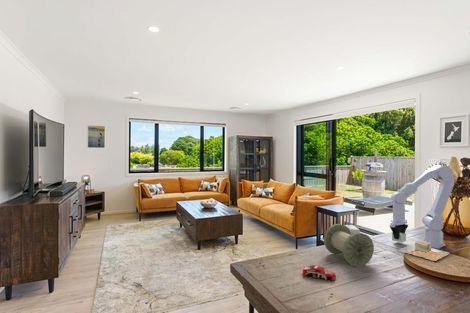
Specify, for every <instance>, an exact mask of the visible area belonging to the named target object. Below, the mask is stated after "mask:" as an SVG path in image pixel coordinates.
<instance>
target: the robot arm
mask: <svg viewBox="0 0 470 313" xmlns="http://www.w3.org/2000/svg"><path fill="white" fill-rule="evenodd" d="M454 172H455V171H454V170H453V169H452V168H451V167H450V166H449V165H447V164H446V165H445V164H443V165H441V164H434V165H431V167H429V168H427V169H426V171H424V172H423V173H422V174H421V175H420V176H419V177H417V178H416V179H415V180H414V181H413V182H407V183H404V185H403V187H401V188H400V189H399V188H398V189H397V191H395V192H393V193H392V194H391V196H390V199H391V200H392V219H391V220H390V225H389V228H390V230H391V232H392V233H393V236H394V239H399V236H400V233H405V234H406V231H407V228H408V227H409V224H408V219H406V204H405V203H406V202H407V199H408V198H409V197H411V196H412V195H413V194H415V193H416V192H418V188H419V187H420V186H421V185H424V183H426V182H427V181H429V180H430V179H435V178H436V179H438V181H439V182H440V185H439V188H438V189H437V193H436V195H435V198H434V200H433V203H432V206H431V208H430V210H428V211H427V212H426V214H425V215H424V216H423V218H422V224H423V225H424V228H423V229H424V230H423V231H424V233H423V235H424V240H423V241H424V242H428V243H431V248H433V249H437V250H440V249H441V248H442V247H444V246H446V244H445V243H444V232H443V231H442V229H443V227H444V215H443V213H444V211H445V209H446V205H447V204H448V201H449V199H450V196H451V194H452V191H453V189H454V186H455V179H454Z"/></svg>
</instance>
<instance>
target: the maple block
mask: <svg viewBox="0 0 470 313" xmlns="http://www.w3.org/2000/svg"><path fill="white" fill-rule="evenodd" d="M414 244H415V250H416V251H421V252H425V253H427V252H429V251H431V248H432V247H431V243H428V242H424V240H418V241H416V242H414Z"/></svg>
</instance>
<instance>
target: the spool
mask: <svg viewBox="0 0 470 313" xmlns="http://www.w3.org/2000/svg"><path fill="white" fill-rule="evenodd" d="M323 244H324V247H325V249H327V251H328V252H329V253H331V254H334V255H336V254H337V255H343V257H344V259H345V261H346V262H347V263H348V264H349V265H350V266H353V267H356V268H358V267H364V266H365V265H367V264H369V262H370V261H371V259H373V255H374V252H375V249H374V248H375V247H374V246H375V245H374V242H373V240H372V238H371V237H370V236H369V235H368V234H365V233H363V232H361V231H360V232H358V233H353V234H352V235H351V233H350V230H349V229H348V228H347V227H346V226H345V225H344V224H341V223H334V224H332V225H331V226H328V228H327V229H326V231H325V233H324V236H323Z"/></svg>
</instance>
